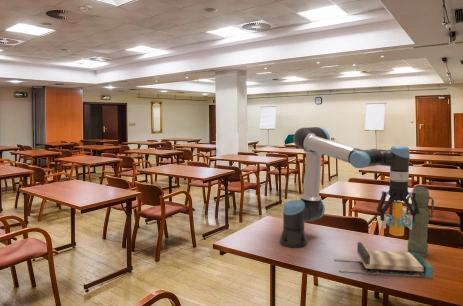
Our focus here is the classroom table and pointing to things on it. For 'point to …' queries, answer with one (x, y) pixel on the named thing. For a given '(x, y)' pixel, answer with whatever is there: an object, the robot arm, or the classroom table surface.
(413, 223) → the thermos
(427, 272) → the track
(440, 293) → the classroom table surface
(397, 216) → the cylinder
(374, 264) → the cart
